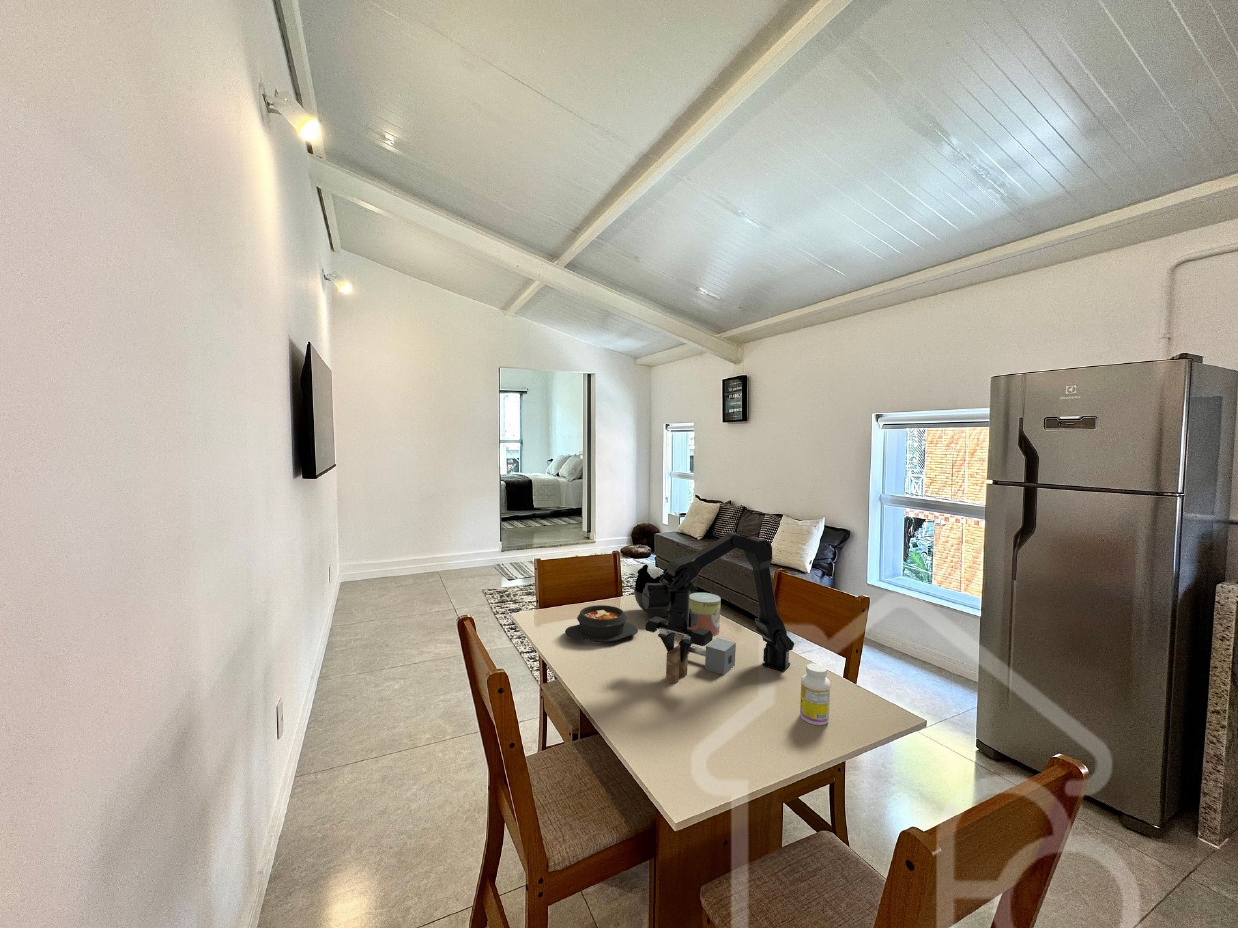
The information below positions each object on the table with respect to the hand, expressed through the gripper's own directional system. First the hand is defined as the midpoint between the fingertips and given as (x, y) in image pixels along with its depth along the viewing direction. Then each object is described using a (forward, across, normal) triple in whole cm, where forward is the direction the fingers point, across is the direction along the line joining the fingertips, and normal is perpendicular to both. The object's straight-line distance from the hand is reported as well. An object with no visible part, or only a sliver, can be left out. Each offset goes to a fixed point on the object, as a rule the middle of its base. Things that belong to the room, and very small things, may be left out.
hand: (677, 660), depth 143 cm
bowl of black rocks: (+5, +30, -41) cm, 51 cm away
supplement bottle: (+5, -37, -2) cm, 37 cm away
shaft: (+5, -1, -14) cm, 15 cm away
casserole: (+5, +35, -11) cm, 37 cm away
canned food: (+5, +10, -38) cm, 40 cm away
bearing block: (+5, -7, -14) cm, 16 cm away
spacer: (+5, 0, 0) cm, 5 cm away
